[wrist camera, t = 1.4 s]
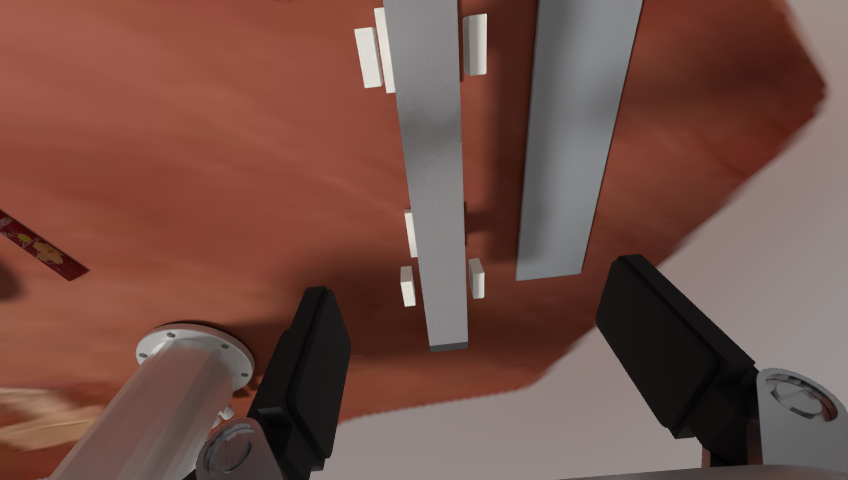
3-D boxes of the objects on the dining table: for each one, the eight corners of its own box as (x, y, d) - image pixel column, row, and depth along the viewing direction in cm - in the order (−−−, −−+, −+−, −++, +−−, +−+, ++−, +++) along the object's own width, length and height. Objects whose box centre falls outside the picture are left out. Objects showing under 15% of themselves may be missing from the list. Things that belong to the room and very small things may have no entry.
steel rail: (462, 319, 27) (468, 348, 25) (428, 323, 27) (430, 352, 25) (443, -98, 13) (452, -131, 11) (373, -89, 13) (366, -120, 11)
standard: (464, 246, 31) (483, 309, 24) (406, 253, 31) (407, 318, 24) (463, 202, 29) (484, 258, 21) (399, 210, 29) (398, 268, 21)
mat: (578, 271, 34) (580, 273, 34) (515, 278, 34) (516, 280, 34) (648, -42, 20) (652, -44, 20) (540, -30, 20) (543, -31, 20)
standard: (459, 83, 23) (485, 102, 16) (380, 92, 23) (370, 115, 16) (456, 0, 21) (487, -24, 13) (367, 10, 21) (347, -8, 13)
